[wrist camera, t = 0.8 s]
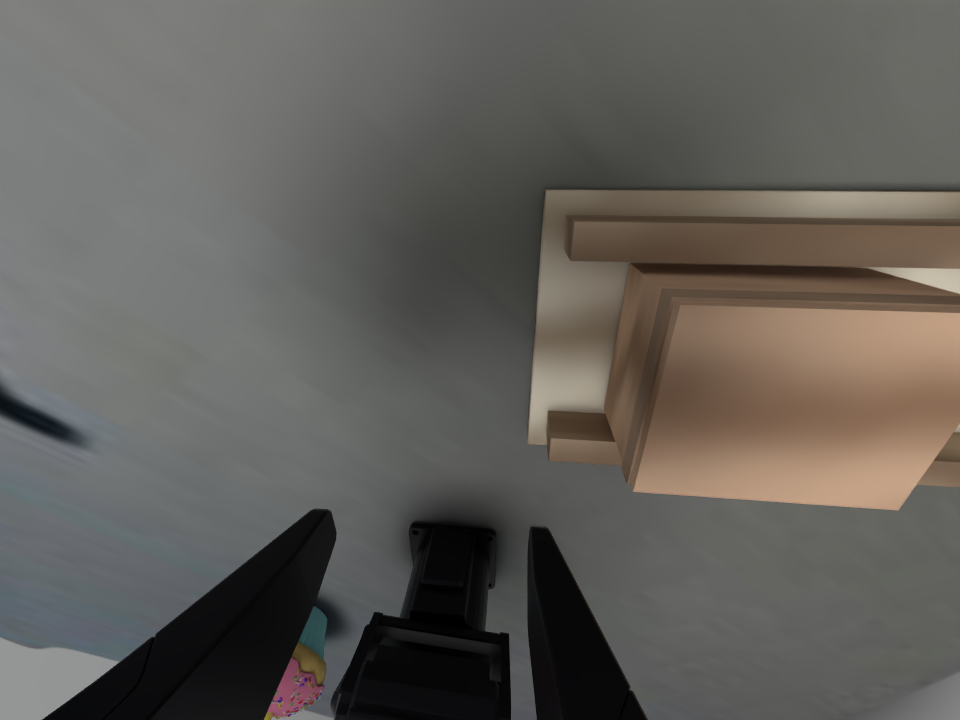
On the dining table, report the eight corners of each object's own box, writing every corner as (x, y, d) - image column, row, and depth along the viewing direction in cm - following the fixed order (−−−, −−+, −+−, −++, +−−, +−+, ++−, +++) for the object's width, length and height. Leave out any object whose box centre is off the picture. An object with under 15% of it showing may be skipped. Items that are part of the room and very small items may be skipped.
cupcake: (363, 623, 35) (296, 819, 25) (312, 649, 38) (232, 834, 28) (289, 575, 33) (178, 769, 22) (241, 607, 36) (124, 791, 25)
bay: (1063, 465, 21) (1174, 524, 17) (527, 433, 24) (528, 480, 20) (1314, 193, 15) (1566, 200, 11) (545, 189, 17) (551, 193, 14)
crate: (797, 420, 20) (899, 512, 15) (601, 410, 21) (630, 493, 15) (870, 265, 16) (1043, 312, 11) (628, 260, 17) (678, 301, 12)
